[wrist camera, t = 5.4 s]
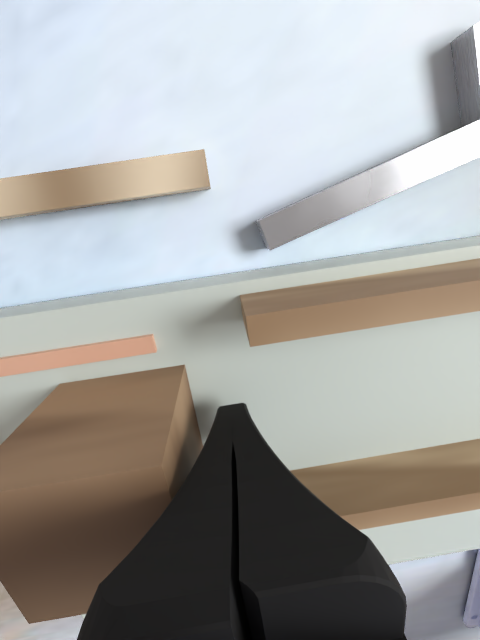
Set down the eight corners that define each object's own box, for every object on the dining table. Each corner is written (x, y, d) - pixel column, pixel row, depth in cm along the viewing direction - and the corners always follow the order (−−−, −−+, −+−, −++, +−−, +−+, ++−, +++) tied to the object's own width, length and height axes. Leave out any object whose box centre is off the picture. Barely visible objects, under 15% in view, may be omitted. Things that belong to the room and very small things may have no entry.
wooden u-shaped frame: (578, 437, 14) (649, 479, 12) (267, 489, 14) (277, 544, 12) (647, 232, 11) (764, 235, 9) (239, 295, 11) (245, 316, 8)
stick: (205, 156, 11) (204, 149, 10) (210, 189, 12) (210, 186, 10) (-26, 189, 11) (-54, 186, 10) (-12, 222, 11) (-38, 222, 10)
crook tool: (265, 247, 12) (270, 250, 11) (227, 151, 11) (228, 142, 10) (489, 147, 12) (518, 138, 11) (477, 31, 10) (509, 7, 9)
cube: (205, 459, 13) (199, 594, 8) (97, 477, 13) (28, 623, 8) (184, 364, 11) (161, 465, 7) (60, 383, 11) (-53, 500, 7)
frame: (193, 486, 14) (192, 490, 13) (24, 515, 13) (22, 519, 13) (153, 334, 11) (151, 335, 11) (-58, 366, 11) (-63, 369, 10)
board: (519, 503, 19) (553, 535, 17) (97, 577, 18) (83, 619, 16) (598, 217, 13) (664, 217, 11) (-33, 312, 12) (-79, 330, 10)
